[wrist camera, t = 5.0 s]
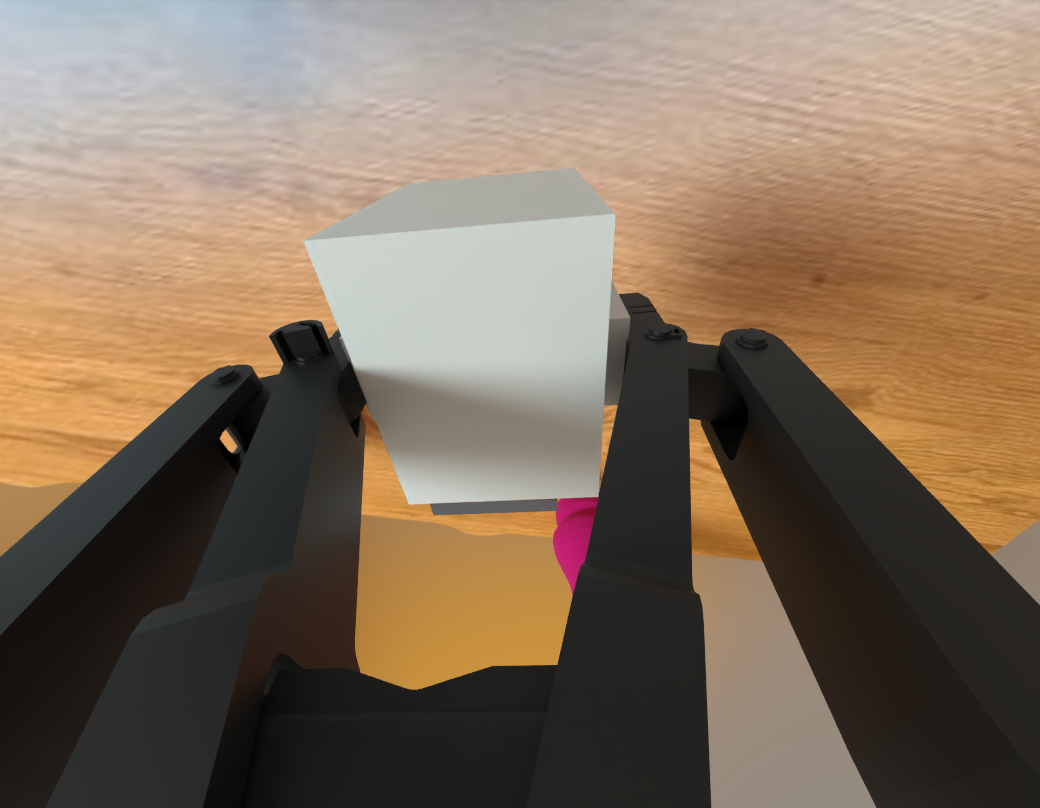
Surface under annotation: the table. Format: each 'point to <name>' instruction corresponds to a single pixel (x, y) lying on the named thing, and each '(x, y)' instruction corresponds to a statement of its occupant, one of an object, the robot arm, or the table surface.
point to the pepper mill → (573, 534)
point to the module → (479, 331)
